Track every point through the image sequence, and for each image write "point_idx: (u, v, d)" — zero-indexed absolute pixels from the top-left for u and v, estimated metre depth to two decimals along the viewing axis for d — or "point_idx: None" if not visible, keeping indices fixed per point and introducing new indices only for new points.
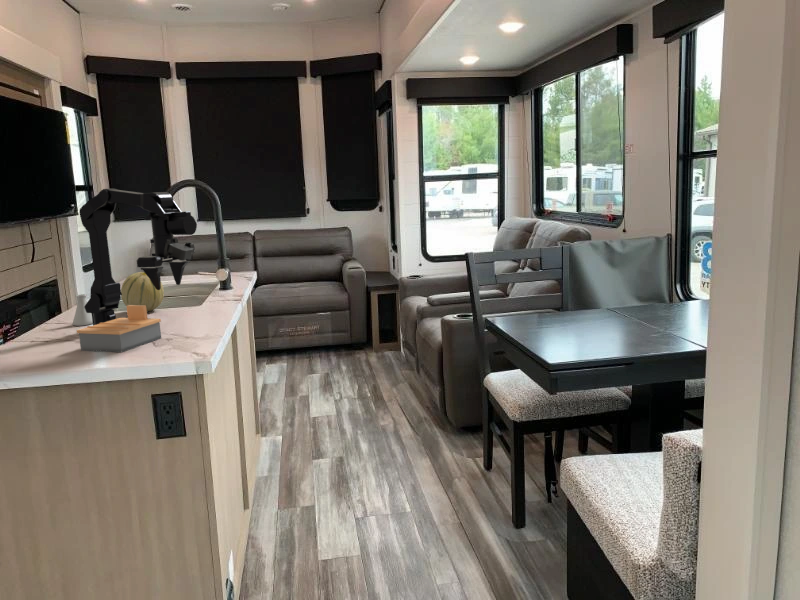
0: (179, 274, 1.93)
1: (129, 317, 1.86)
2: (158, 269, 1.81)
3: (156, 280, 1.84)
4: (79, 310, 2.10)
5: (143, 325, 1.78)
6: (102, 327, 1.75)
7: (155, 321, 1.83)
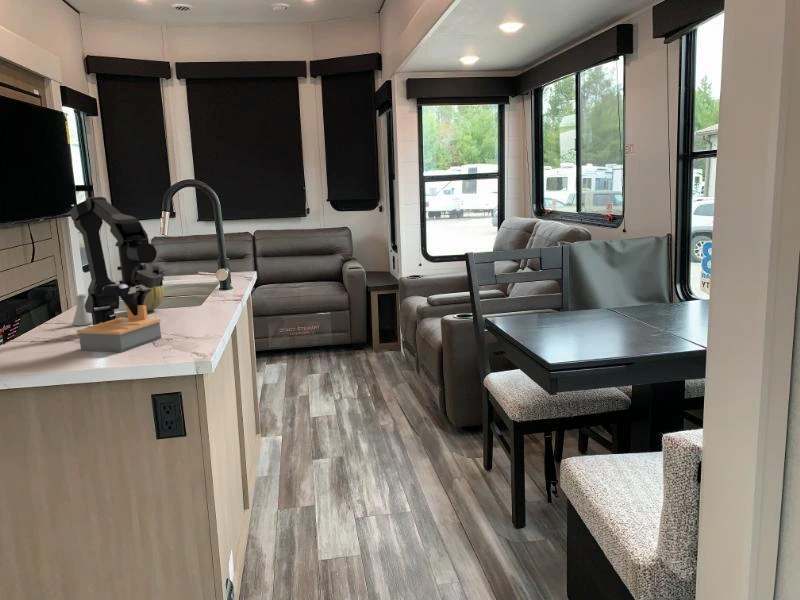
0: (140, 303, 1.86)
1: (129, 317, 1.86)
2: (134, 295, 1.81)
3: (133, 306, 1.83)
4: (79, 310, 2.10)
5: (143, 325, 1.78)
6: (102, 327, 1.75)
7: (155, 321, 1.83)
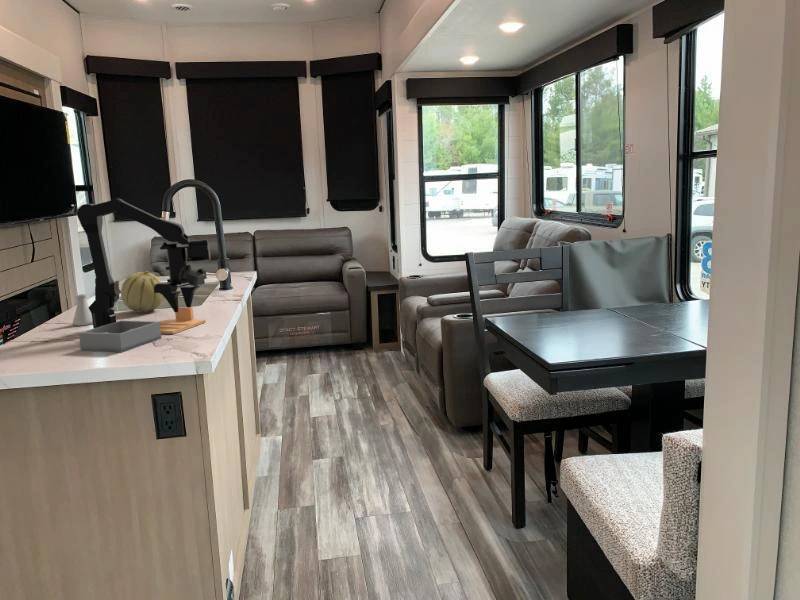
0: (189, 298, 2.08)
1: (177, 318, 2.07)
2: (176, 293, 1.98)
3: (174, 303, 2.01)
4: (79, 310, 2.10)
5: (191, 325, 1.98)
6: None
7: (201, 322, 2.03)
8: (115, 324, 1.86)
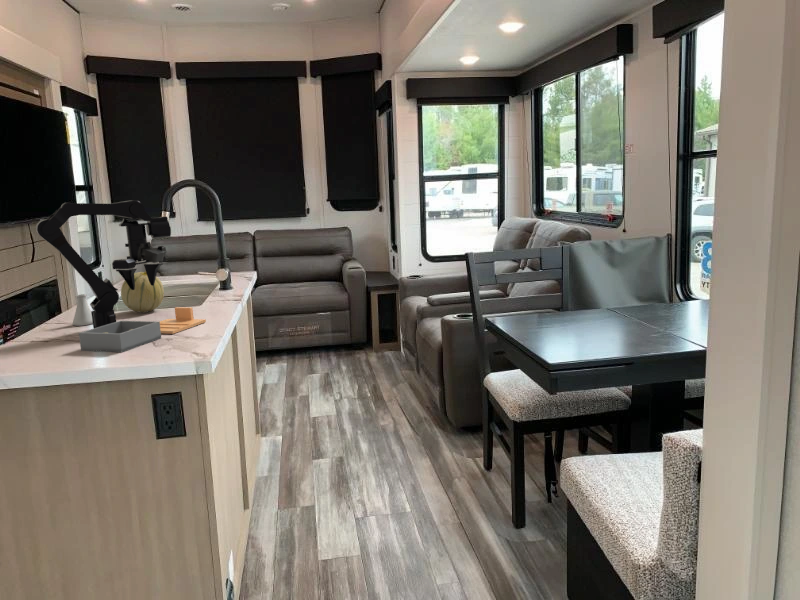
0: (153, 275, 2.10)
1: (177, 318, 2.07)
2: (132, 270, 1.98)
3: (130, 281, 2.01)
4: (79, 310, 2.10)
5: (191, 325, 1.98)
6: None
7: (201, 321, 2.03)
8: (115, 324, 1.86)
